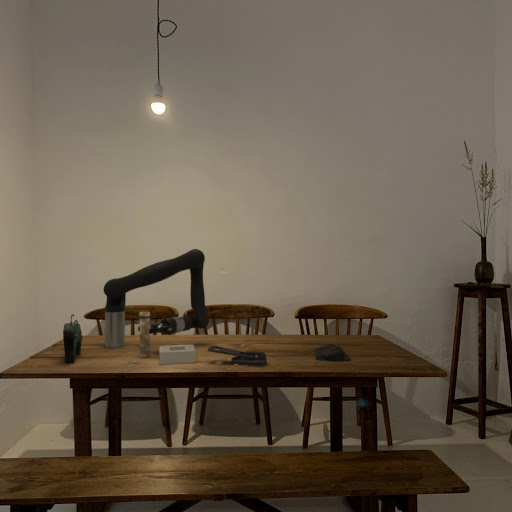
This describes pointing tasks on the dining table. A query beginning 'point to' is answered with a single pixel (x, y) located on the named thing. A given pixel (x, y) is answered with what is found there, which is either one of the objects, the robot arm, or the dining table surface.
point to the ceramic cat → (72, 340)
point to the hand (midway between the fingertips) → (144, 330)
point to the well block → (177, 354)
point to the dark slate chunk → (330, 353)
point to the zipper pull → (242, 356)
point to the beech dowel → (144, 334)
